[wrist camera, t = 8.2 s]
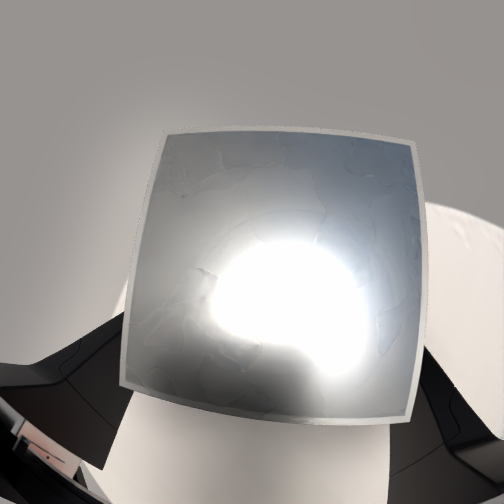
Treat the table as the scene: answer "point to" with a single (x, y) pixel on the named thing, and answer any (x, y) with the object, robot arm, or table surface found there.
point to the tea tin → (280, 275)
